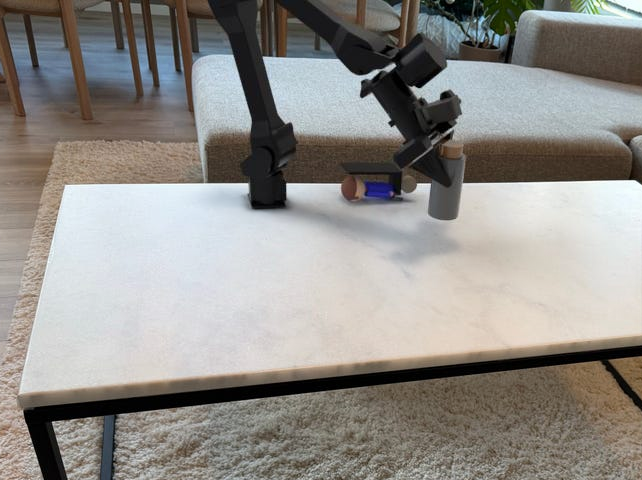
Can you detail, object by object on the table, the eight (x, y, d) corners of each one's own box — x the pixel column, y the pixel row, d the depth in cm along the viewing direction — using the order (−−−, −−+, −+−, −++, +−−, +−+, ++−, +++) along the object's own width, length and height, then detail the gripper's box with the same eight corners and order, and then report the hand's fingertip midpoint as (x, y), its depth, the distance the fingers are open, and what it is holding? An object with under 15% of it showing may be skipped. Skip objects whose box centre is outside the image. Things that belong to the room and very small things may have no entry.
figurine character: (401, 196, 149) (334, 193, 142) (407, 162, 145) (339, 157, 138) (413, 208, 144) (345, 206, 137) (420, 173, 140) (350, 169, 133)
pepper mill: (436, 222, 122) (445, 149, 115) (422, 209, 126) (429, 138, 119) (463, 219, 125) (473, 148, 117) (449, 206, 129) (458, 137, 121)
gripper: (418, 87, 105) (477, 172, 110) (452, 65, 120) (503, 141, 125) (367, 128, 111) (425, 208, 116) (406, 103, 126) (455, 174, 131)
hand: (454, 181), depth 121 cm, fingers closed on pepper mill, 5 cm apart
